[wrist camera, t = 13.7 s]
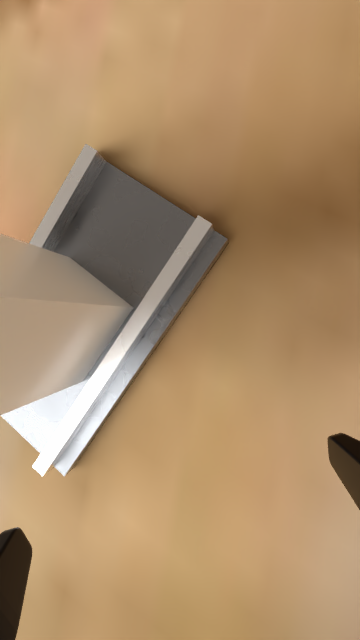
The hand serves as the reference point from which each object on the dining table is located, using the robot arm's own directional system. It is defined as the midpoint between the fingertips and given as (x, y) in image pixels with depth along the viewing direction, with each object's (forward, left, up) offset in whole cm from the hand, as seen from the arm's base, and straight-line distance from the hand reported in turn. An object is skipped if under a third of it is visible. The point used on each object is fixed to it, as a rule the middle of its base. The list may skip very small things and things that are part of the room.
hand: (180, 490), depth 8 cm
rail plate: (+3, +11, -10) cm, 15 cm away
